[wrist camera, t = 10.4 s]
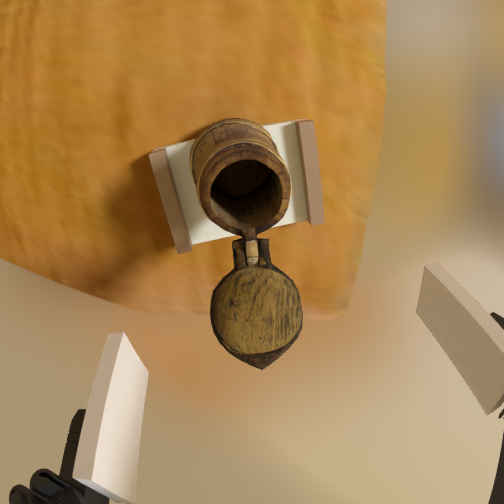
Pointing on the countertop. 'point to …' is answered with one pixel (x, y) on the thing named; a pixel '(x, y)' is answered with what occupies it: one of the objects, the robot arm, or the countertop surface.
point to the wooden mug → (247, 238)
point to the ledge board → (186, 200)
